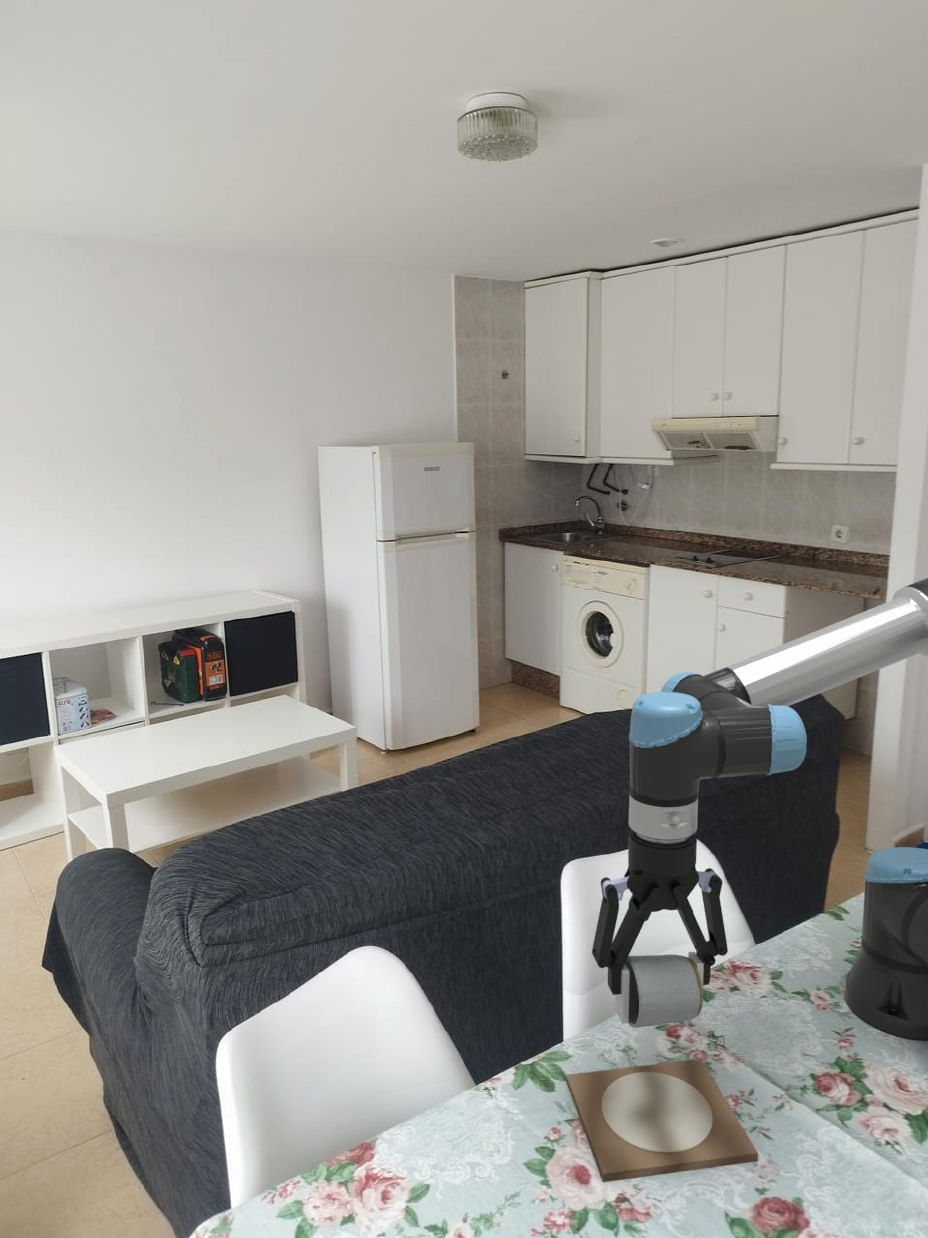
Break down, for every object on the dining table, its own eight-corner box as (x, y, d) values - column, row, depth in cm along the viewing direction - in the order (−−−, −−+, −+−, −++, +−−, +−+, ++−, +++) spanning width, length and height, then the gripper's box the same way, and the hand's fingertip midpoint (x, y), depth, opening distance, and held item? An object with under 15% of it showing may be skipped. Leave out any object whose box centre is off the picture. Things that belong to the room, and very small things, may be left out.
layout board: (701, 1065, 116) (701, 1056, 116) (757, 1161, 101) (758, 1151, 100) (566, 1081, 114) (566, 1072, 113) (603, 1182, 98) (603, 1171, 98)
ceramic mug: (706, 1032, 101) (708, 970, 100) (638, 1042, 100) (639, 979, 98) (668, 981, 111) (669, 924, 110) (605, 989, 110) (606, 931, 109)
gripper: (580, 852, 95) (579, 1042, 99) (766, 837, 98) (757, 1023, 102) (563, 824, 102) (563, 1002, 107) (736, 810, 105) (729, 984, 110)
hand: (658, 1012), depth 104 cm, fingers closed on ceramic mug, 8 cm apart
